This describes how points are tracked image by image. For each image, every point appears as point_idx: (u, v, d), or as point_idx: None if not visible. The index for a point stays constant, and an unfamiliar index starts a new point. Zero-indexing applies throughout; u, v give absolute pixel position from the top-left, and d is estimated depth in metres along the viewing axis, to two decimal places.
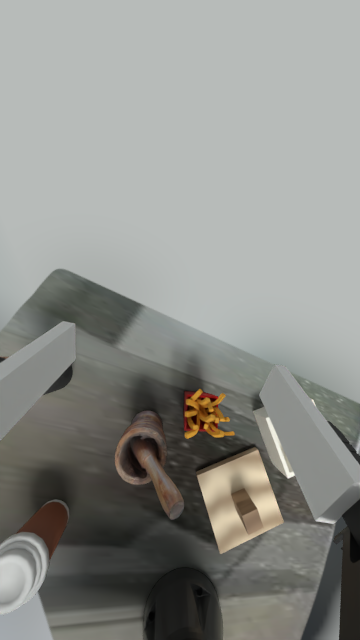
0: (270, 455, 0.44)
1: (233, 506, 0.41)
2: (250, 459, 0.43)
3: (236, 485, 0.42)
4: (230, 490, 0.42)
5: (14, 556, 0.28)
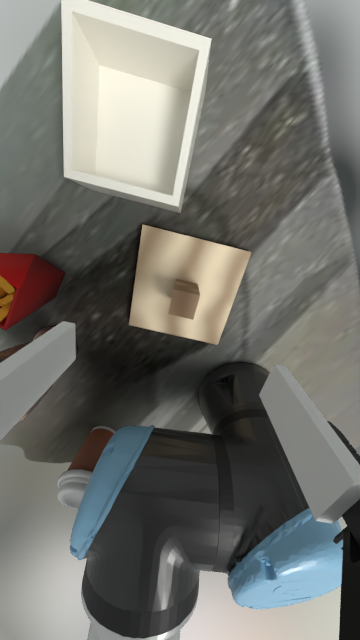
0: (164, 208, 0.25)
1: None
2: (148, 246, 0.26)
3: (167, 286, 0.28)
4: (167, 297, 0.29)
5: (60, 492, 0.33)
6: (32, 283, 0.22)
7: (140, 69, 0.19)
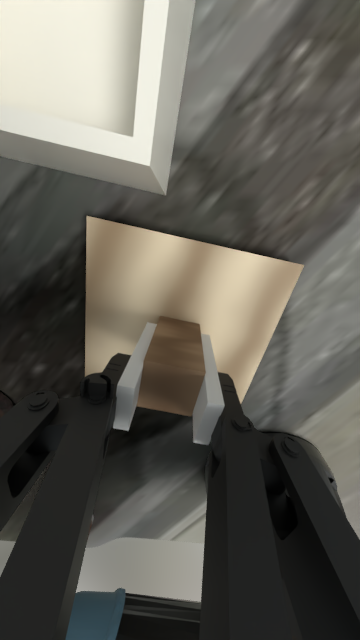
0: (132, 185, 0.13)
1: None
2: (103, 258, 0.14)
3: None
4: None
5: None
6: None
7: None
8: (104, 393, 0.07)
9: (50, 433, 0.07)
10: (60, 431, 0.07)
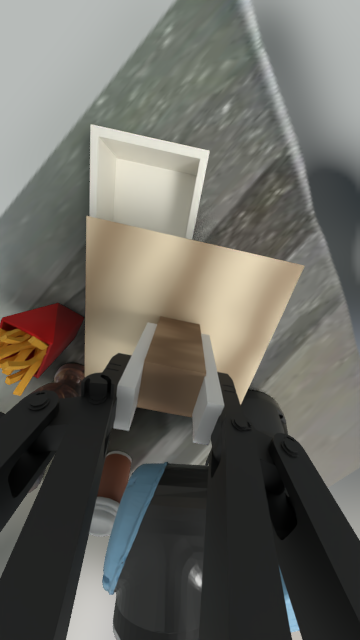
0: None
1: None
2: (103, 258, 0.13)
3: None
4: None
5: None
6: (60, 336, 0.26)
7: (150, 162, 0.23)
8: (105, 393, 0.07)
9: (51, 433, 0.07)
10: (60, 432, 0.07)
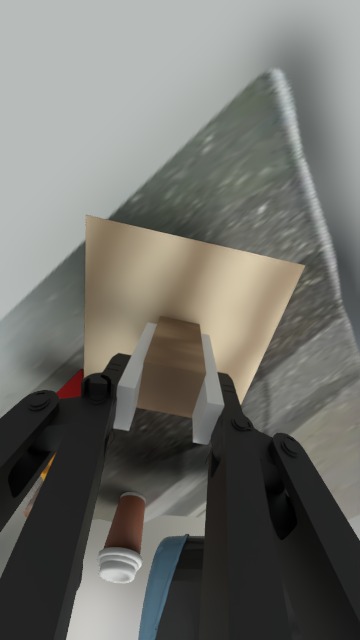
0: None
1: None
2: (103, 257, 0.13)
3: None
4: None
5: (102, 570, 0.36)
6: None
7: None
8: (105, 393, 0.07)
9: (51, 433, 0.07)
10: (60, 432, 0.07)
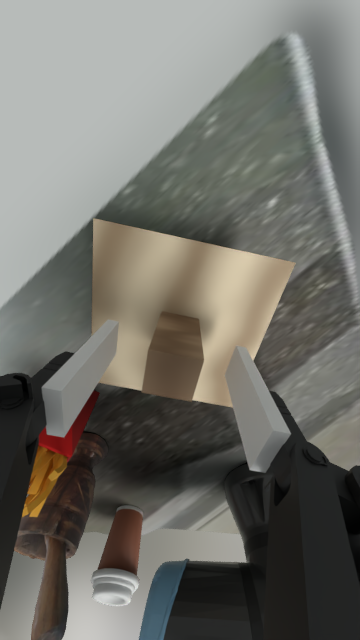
0: None
1: None
2: (109, 257, 0.15)
3: (147, 324, 0.17)
4: (148, 341, 0.17)
5: (95, 594, 0.34)
6: (79, 438, 0.24)
7: None
8: (21, 395, 0.07)
9: None
10: None
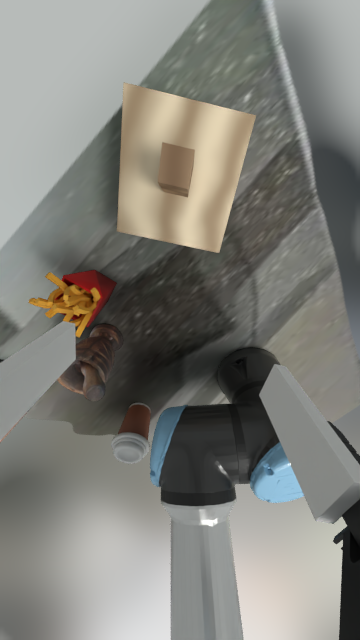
0: None
1: (181, 198, 0.25)
2: (133, 115, 0.22)
3: (157, 174, 0.24)
4: (158, 190, 0.25)
5: (116, 449, 0.43)
6: (105, 294, 0.32)
7: None
8: None
9: None
10: None
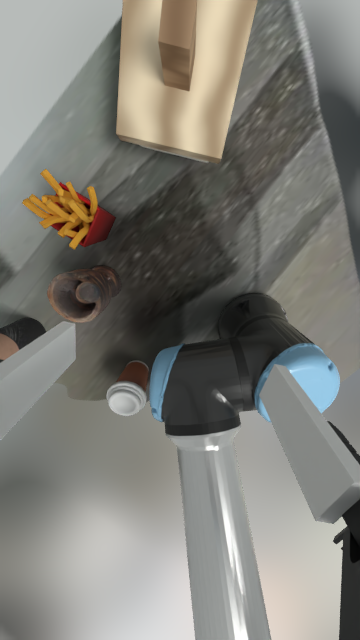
0: None
1: (182, 93, 0.25)
2: None
3: (158, 63, 0.24)
4: (159, 83, 0.24)
5: (111, 397, 0.41)
6: (103, 211, 0.31)
7: None
8: None
9: None
10: None
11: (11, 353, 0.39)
